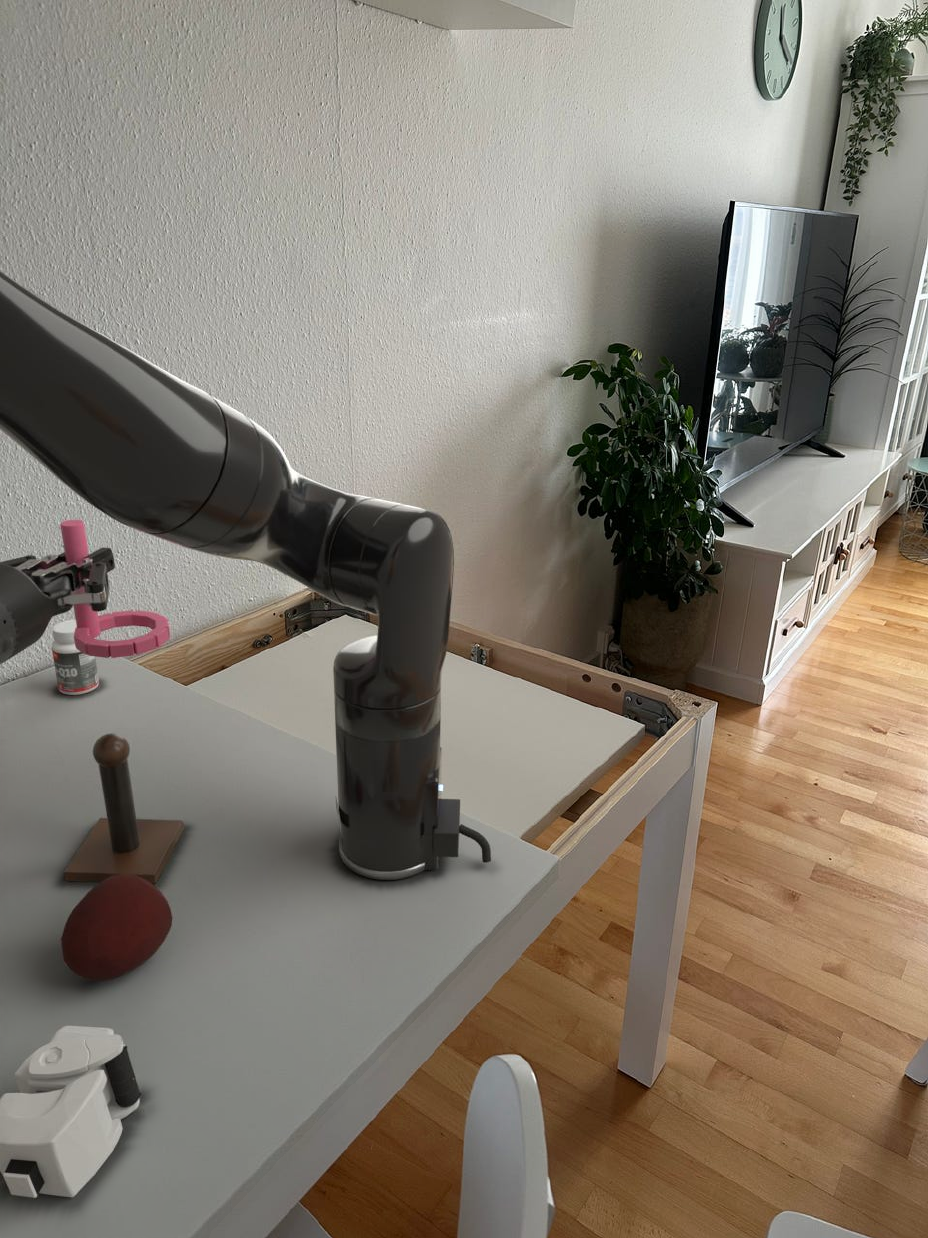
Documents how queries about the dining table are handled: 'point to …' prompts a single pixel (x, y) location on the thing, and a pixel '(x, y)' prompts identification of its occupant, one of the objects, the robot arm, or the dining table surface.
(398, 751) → the robot arm
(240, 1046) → the dining table surface
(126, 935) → the potato
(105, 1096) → the white plastic gadget
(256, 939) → the dining table surface
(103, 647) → the pink ring with post
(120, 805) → the stand
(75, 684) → the pill bottle
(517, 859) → the dining table surface
